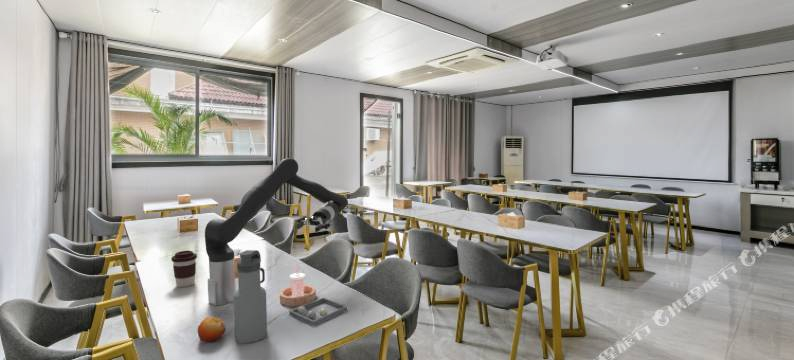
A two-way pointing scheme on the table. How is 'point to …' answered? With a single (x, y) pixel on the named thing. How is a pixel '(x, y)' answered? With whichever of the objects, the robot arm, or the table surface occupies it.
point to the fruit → (211, 329)
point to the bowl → (300, 300)
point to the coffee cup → (184, 268)
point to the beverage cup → (297, 283)
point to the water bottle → (250, 299)
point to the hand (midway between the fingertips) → (306, 228)
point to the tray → (321, 319)
